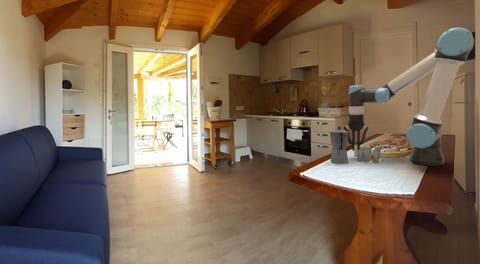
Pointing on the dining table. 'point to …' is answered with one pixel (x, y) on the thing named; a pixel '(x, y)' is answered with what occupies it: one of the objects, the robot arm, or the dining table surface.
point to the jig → (366, 154)
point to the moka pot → (339, 146)
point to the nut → (369, 156)
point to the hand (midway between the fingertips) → (356, 156)
